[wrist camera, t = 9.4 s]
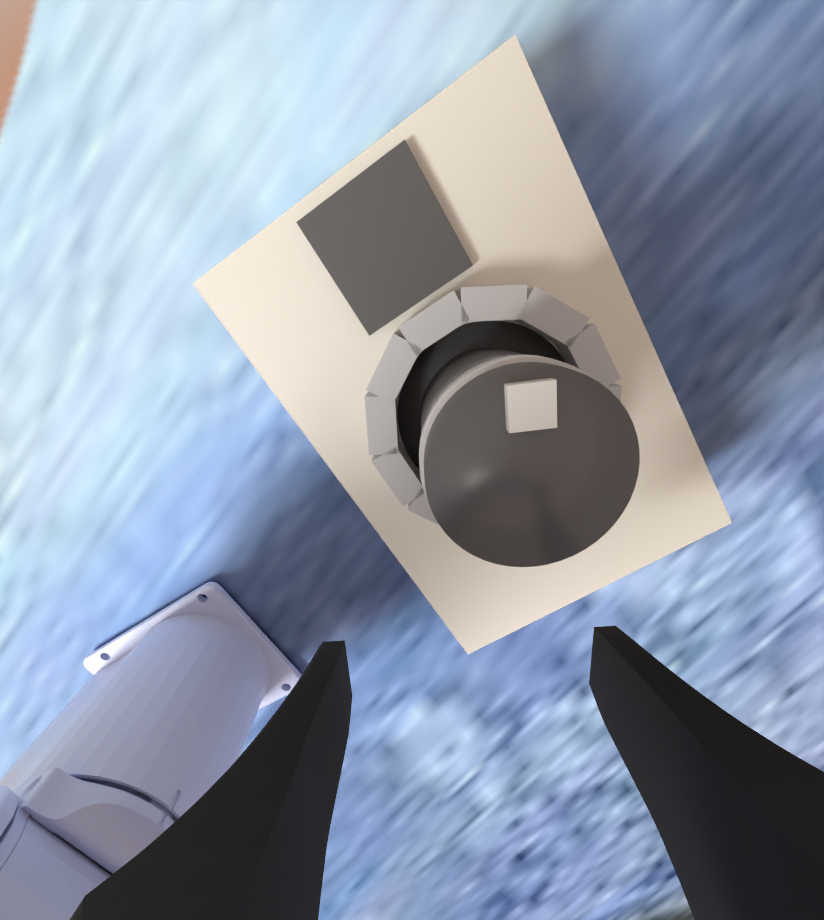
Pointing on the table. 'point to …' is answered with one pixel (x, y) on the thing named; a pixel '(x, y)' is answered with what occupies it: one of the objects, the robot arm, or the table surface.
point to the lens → (524, 456)
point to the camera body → (459, 332)
